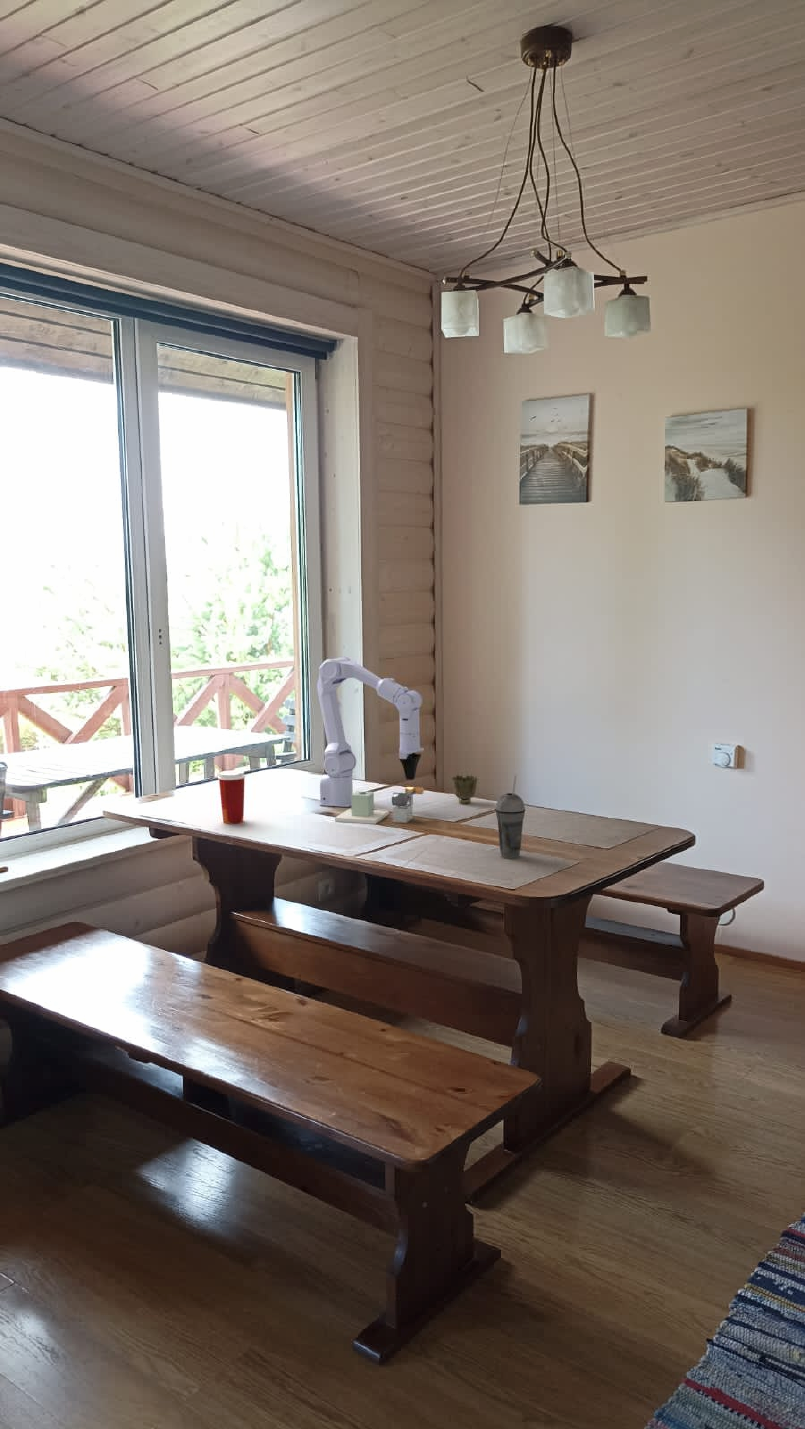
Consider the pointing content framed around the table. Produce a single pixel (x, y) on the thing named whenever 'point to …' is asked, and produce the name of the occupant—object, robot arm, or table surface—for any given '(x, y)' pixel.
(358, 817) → the plate
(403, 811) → the white square planter
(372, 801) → the block
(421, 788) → the press lever
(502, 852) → the beverage cup
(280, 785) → the table surface
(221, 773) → the paper cup
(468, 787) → the cup
